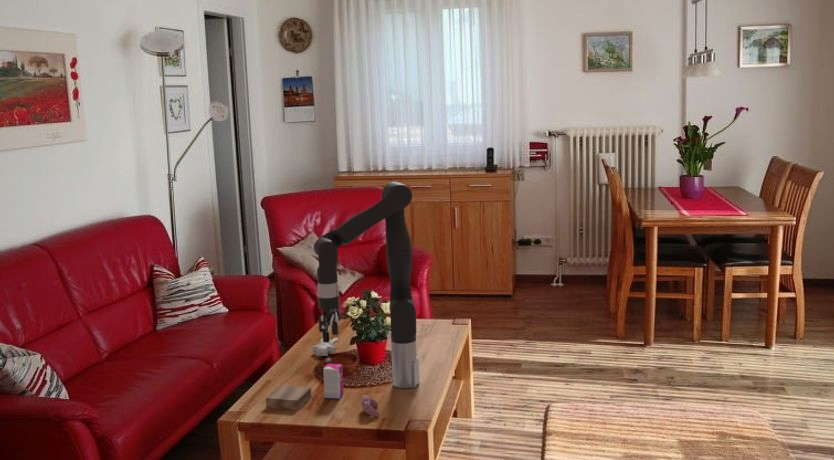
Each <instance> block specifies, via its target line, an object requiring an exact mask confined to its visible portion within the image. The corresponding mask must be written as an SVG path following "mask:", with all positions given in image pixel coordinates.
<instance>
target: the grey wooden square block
mask: <svg viewBox="0 0 834 460" xmlns="http://www.w3.org/2000/svg"><path fill="white" fill-rule="evenodd" d="M312 396H313V395H312V387H307V386H294V385H293V386H292V385H279V386H278V387H276V389H274V390H273V391H272V392H271V393H270V394H269V395H267V396H266V397H265V404H266V406H265V407H266V408H267V409H276V408H278V409H280V410H289V411H299V410H300V409H301V408H302V407H303V406H304V405H305V404H306V403H307V402H308V401H310V399H311V398H312Z"/></svg>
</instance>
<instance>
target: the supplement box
mask: <svg viewBox="0 0 834 460" xmlns="http://www.w3.org/2000/svg"><path fill="white" fill-rule="evenodd" d="M343 370H344V369H343V364H340V363H327V364H326V365H325V367H323V391H324V392H323V396H324V397H323V400H332V401H333V400H335V401H340V399H341V398H342V396H343V395H344V371H343Z"/></svg>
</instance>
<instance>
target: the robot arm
mask: <svg viewBox="0 0 834 460" xmlns="http://www.w3.org/2000/svg"><path fill="white" fill-rule="evenodd" d="M412 199H413V192H412V190H411V189H410V187H409V186H407V185H406V184H404V183H401V182H398V181H390V182H386V184H385V185H384V186H383V188H382V191H381V199H380V200H379V201H378V202H376V203H375V204H374V205H372V206H370V207H369V208H367V209H364V210H363V211H359V212H358V213H357V214H355V215H353V216H351V217H350V218H348V219H347V220H346V221H344V222H342V223H341V224H340V225H339V226H338V227H336V228H334V229H332V230H330V231H329V232H327V233H324V234H322V236H320V237H319V238H318V239H317V240H316V241H315V242H314V245H313V252H314V253H315V254H316V255H317V257H318V267H317V270H316V276H317V277H316V279H317V285H316V286H317V287H316V288H317V290H316V291H317V306H318V309H319V310H322V315H321V314H319V315H318V332H319V333H322V338H323V342H326V343H328V342H329V341H330V340H331V339H330V328H331V335H332V336H338V335H339V324H340V322H341V307H340V304H341V303H340V287H339V282H338V281H339V280H338V262H339V250H338V248H340V247H341V246H344V245H349V244H351V243H353V241H355V240H356V239H357V238H359V237H360V236H361V235H363V234H364V233H365V232H367V231H369V229H371V228H372V227H374V226H375V225H377V224H379V223H380V222H382V221H383V220H385V221H384V222H385V247H386V248H385V250H386V251H385V252H386V262H387V264H386V265H387V271H388V277H389V281H390V282H389V284H390V293H389V296H390V297H389V308H388V309H389V314H390V344H391V345H390V346H391V368H392V385H393V387H394V388H397V389H411V388H412V389H414V388H416V387H418V384H419V383H420V369H419V368H420V364H419V362H420V359H419V357H418V356H417V355H418V353H417V311H416V310H417V309H416V306H415V303H414V300H413V296H412V295H413V293H412V288H411V276H412V268H413V266H412V265H413V251H412V250H413V249H412V241H411V240H412V239H411V237H410V234H409V229H408V227H407V224H406V217H405V209H406V208H407V207H408V206H409V205H410V204H411V202H412Z"/></svg>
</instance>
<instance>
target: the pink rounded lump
mask: <svg viewBox="0 0 834 460" xmlns="http://www.w3.org/2000/svg"><path fill="white" fill-rule="evenodd" d="M360 399H361V400H360V402H361V407H362V409H363V411H364V413H366V414H367V415H368V416H371V417H373V418H378V417H379V416H380V412H379V411H378V410H377V409H375V408H377V407H379V402H378V401H377V400H375V399H374V398H372V397H371V396H370V395H368V394H366V395H365V394H364V395H362V396H361V397H360Z"/></svg>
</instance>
